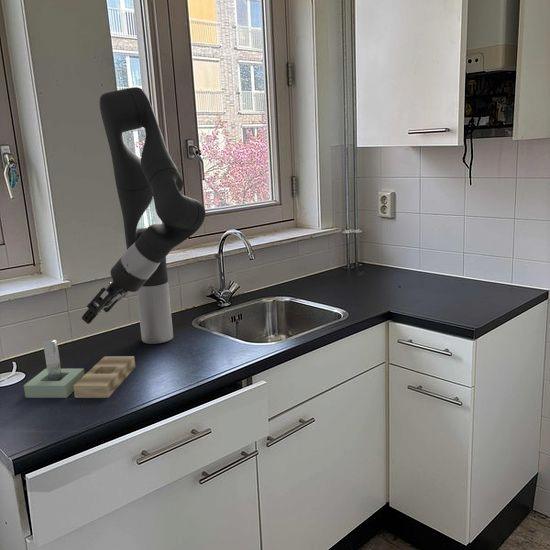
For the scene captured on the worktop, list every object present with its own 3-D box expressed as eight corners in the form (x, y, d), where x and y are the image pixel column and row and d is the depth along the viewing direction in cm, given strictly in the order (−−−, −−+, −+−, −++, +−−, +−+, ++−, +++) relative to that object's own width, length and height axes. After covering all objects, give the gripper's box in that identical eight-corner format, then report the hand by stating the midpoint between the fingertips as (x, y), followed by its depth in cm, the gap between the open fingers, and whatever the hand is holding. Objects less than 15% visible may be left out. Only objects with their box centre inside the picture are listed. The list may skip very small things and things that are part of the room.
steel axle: (53, 385, 136) (47, 339, 133) (65, 385, 135) (59, 338, 132) (47, 391, 133) (40, 343, 130) (59, 391, 132) (52, 343, 130)
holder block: (47, 379, 139) (45, 368, 139) (85, 379, 138) (83, 368, 138) (25, 397, 130) (23, 385, 129) (66, 397, 129) (64, 385, 128)
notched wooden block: (105, 367, 146) (104, 356, 145) (135, 367, 145) (134, 356, 144) (74, 397, 128) (73, 385, 128) (108, 397, 127) (106, 385, 127)
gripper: (137, 248, 130) (98, 295, 135) (108, 261, 116) (65, 313, 121) (161, 270, 130) (121, 316, 135) (134, 285, 116) (91, 336, 121)
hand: (94, 315), depth 128 cm, fingers open, 8 cm apart
